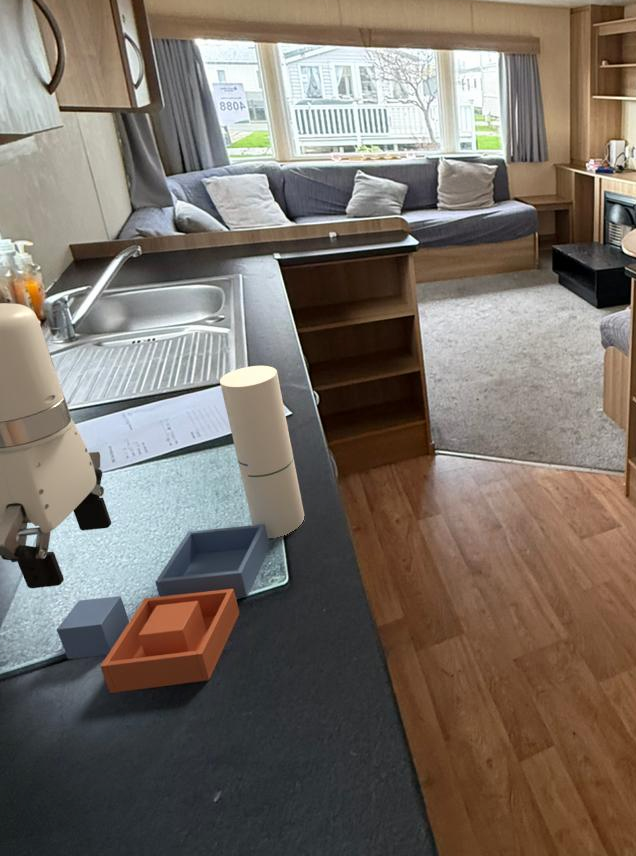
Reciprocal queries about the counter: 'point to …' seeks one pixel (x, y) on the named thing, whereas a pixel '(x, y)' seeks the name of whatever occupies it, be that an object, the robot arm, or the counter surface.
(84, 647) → the slate block
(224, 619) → the terracotta bin
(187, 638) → the terracotta block
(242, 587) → the slate bin
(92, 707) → the counter surface
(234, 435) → the cylindrical container
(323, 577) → the counter surface
